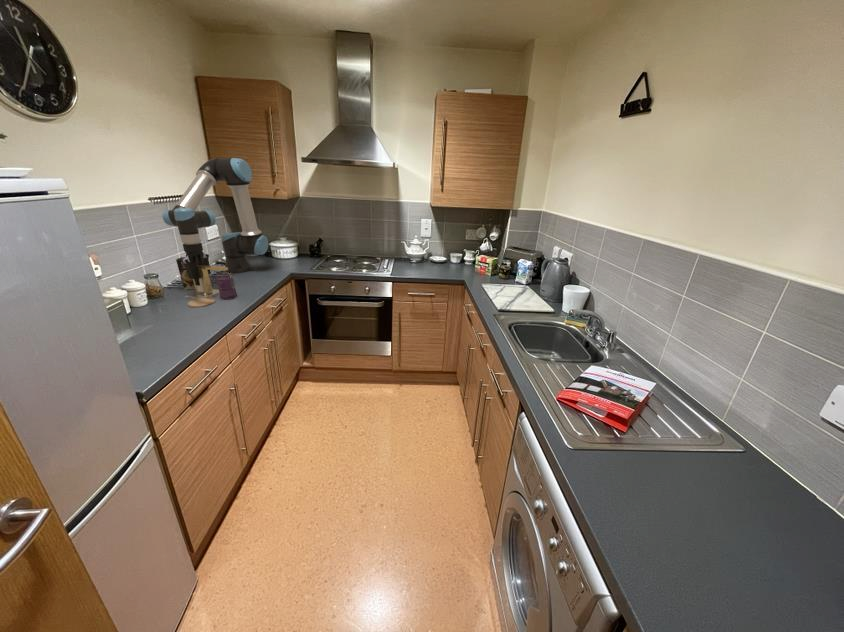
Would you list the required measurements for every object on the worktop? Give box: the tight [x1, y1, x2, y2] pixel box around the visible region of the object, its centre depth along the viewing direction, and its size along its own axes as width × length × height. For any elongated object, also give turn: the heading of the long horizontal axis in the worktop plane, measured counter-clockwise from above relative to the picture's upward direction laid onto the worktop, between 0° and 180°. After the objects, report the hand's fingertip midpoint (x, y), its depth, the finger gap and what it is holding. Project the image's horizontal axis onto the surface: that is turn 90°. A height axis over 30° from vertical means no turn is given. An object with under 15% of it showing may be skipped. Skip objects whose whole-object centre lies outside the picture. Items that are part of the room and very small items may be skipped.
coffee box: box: [175, 256, 196, 291], centre depth 168 cm, size 9×6×16 cm
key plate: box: [184, 288, 220, 300], centre depth 161 cm, size 12×12×1 cm
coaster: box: [187, 297, 216, 308], centre depth 151 cm, size 11×11×1 cm
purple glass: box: [215, 271, 238, 300], centre depth 156 cm, size 7×7×12 cm
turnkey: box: [193, 265, 228, 293], centre depth 157 cm, size 3×20×14 cm, turn 77°
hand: (204, 290), depth 160 cm, fingers closed on turnkey, 3 cm apart
